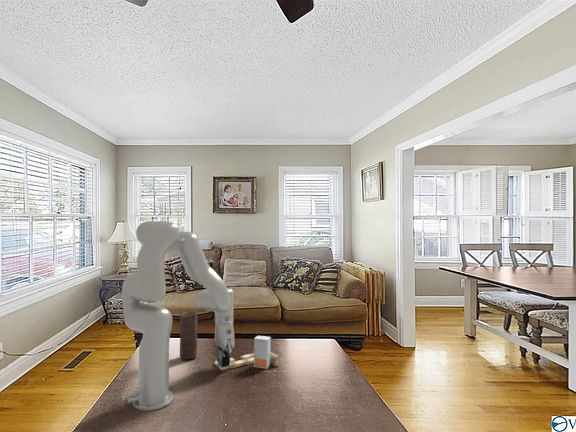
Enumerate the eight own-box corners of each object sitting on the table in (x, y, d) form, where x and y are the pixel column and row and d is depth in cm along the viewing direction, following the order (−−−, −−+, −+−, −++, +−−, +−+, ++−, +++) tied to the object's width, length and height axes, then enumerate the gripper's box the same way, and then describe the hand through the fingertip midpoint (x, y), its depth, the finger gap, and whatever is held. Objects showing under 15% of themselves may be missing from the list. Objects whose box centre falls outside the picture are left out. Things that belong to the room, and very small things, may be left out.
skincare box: (253, 367, 151) (253, 338, 152) (257, 363, 155) (257, 335, 156) (267, 369, 150) (267, 339, 150) (270, 365, 154) (271, 336, 154)
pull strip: (229, 377, 141) (229, 358, 141) (218, 367, 150) (218, 349, 150) (278, 365, 153) (278, 348, 153) (265, 357, 162) (265, 340, 162)
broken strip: (217, 366, 152) (217, 363, 152) (214, 364, 154) (214, 361, 154) (263, 356, 164) (263, 353, 164) (260, 354, 166) (260, 351, 166)
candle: (194, 361, 157) (194, 314, 157) (177, 361, 157) (177, 314, 158) (199, 355, 165) (199, 310, 165) (182, 354, 165) (183, 310, 165)
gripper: (241, 322, 145) (240, 369, 145) (224, 313, 159) (224, 356, 159) (223, 325, 141) (222, 373, 141) (207, 315, 155) (207, 359, 155)
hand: (223, 363), depth 150 cm, fingers closed on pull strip, 3 cm apart
